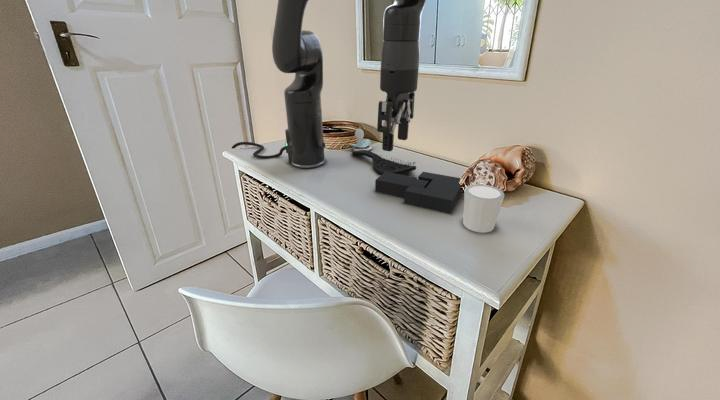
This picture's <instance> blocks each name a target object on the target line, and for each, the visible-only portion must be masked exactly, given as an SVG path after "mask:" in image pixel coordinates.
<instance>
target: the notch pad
mask: <svg viewBox="0 0 720 400" xmlns="http://www.w3.org/2000/svg"><path fill="white" fill-rule="evenodd" d="M417 176H418V177H417V179H419V180H424V181H429V182H428V186H427V187H426V188H424V187H419V186H413V185H410V186H409V187H408V188H407V189H406V190H405V198H403V200H404V202H403V203H404V204H406V205H410V206H415V207H420V208H424V209H429V210H433V211H437V212H442V213H446V214H452V212H453V210H454V209H455V207H456V205H457V203H458V202H459V200H460V198H461V196H462V195H463V194H464V191H463V190H462V192H461V187H462V185H460V184H459V183H458V182H459V180H460V178H461V177H457V176H450V175H446V174H439V173H434V172H428V171H422V172H421V173H420V174H419V175H417Z"/></svg>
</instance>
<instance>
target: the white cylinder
mask: <svg viewBox="0 0 720 400" xmlns="http://www.w3.org/2000/svg"><path fill="white" fill-rule="evenodd" d="M505 194H506V193H504V191H503V190H502V189H500V188H498V187H495V186H492V185H489V184H479V183H478V184H477V183H475V184H471V185H468V186H466V187H464V191H463V217H462V223H463V226H464V227H465V228H466V229H467V230H469V231H472V232H475V233H481V234H485V233H491V232H492V231H494V229H495V226H496V224H497V220H498V217H499V215H500V210H501V207H502V205H503V201H504V198H505Z"/></svg>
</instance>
